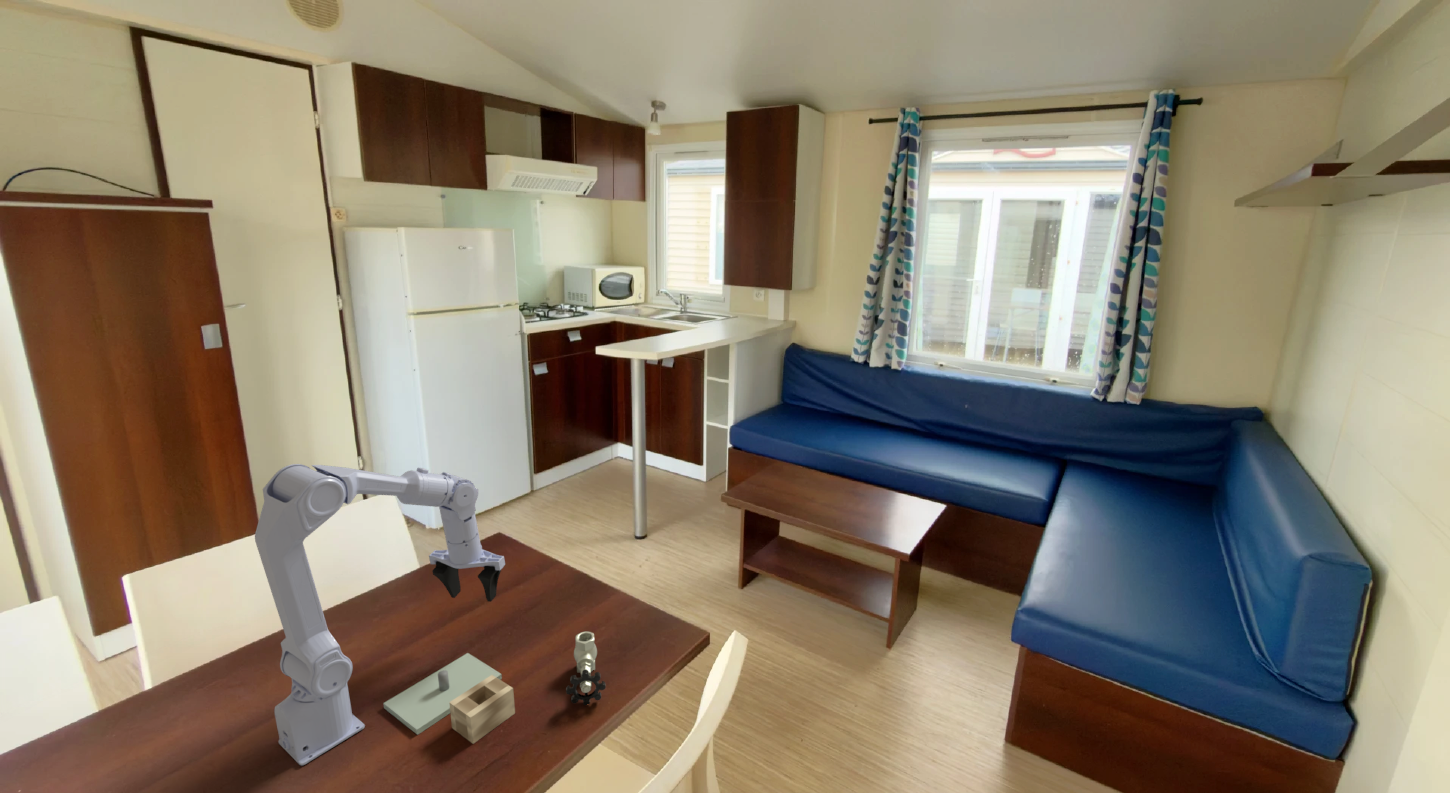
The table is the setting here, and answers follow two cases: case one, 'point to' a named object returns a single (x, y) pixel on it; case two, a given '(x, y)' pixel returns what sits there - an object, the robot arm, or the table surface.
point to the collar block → (482, 708)
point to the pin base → (438, 693)
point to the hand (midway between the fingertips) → (473, 596)
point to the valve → (585, 670)
